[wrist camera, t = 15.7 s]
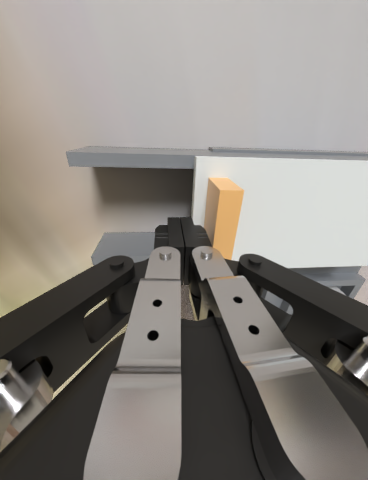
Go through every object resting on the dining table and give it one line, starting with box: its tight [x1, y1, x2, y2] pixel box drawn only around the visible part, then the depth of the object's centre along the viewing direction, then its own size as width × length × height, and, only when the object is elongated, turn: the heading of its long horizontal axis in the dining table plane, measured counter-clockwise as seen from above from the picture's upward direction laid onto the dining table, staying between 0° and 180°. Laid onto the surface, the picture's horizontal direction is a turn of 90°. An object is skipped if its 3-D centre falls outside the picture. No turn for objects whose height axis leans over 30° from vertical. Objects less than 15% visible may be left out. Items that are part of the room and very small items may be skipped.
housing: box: [66, 146, 368, 315], centre depth 17 cm, size 27×20×8 cm
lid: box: [191, 156, 368, 268], centre depth 13 cm, size 16×8×4 cm, turn 88°
